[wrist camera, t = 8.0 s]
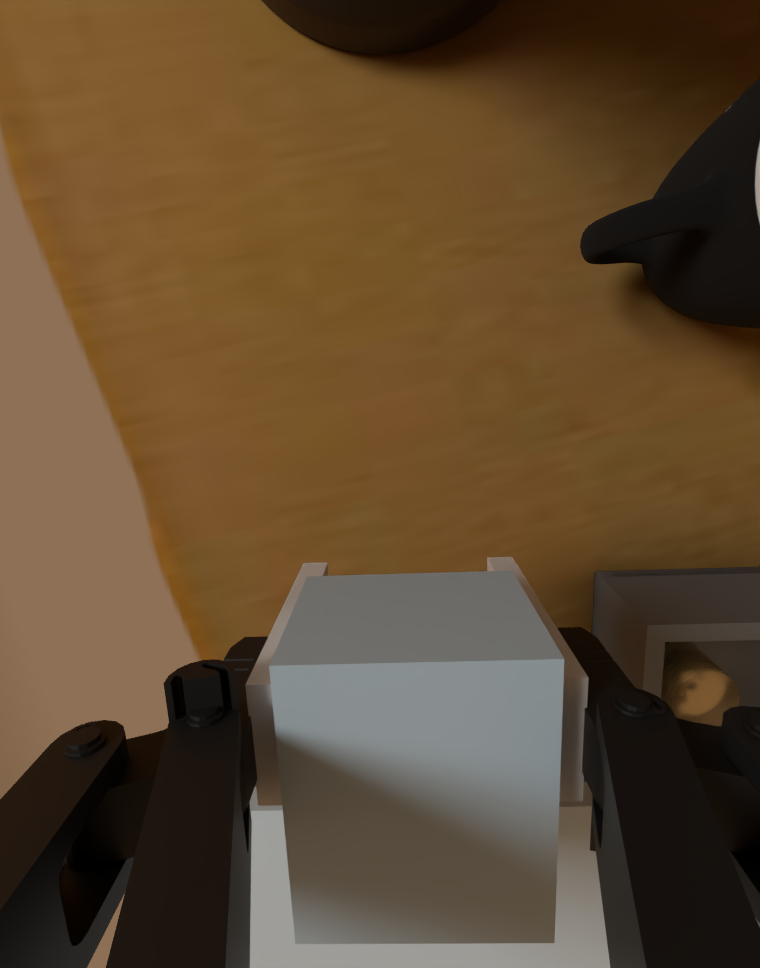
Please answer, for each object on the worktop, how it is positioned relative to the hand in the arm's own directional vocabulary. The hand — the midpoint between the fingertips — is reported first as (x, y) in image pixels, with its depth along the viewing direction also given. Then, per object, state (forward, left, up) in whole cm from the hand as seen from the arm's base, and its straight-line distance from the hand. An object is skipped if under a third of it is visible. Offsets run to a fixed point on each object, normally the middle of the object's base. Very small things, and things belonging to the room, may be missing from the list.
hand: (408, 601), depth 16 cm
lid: (+9, 0, +3) cm, 9 cm away
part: (+8, +14, -11) cm, 19 cm away
